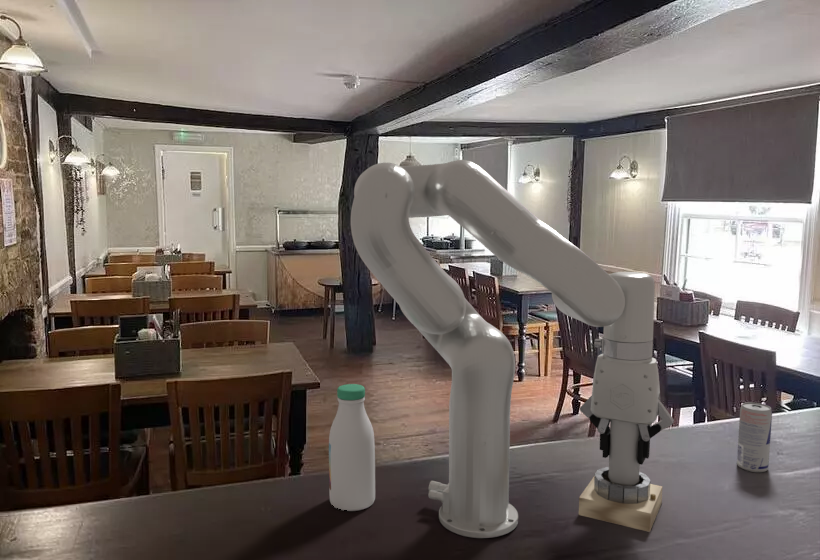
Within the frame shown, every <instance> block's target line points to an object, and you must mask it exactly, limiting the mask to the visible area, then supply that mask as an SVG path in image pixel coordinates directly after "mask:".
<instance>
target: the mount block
mask: <svg viewBox="0 0 820 560" xmlns="http://www.w3.org/2000/svg"><path fill="white" fill-rule="evenodd" d="M594 477H595V475H593V477H592V479H590V482H589V483H588V484H587V486H586V487H585V488H584V490H583V491H582V493H581V494H580V495H579V498H578V516H582V517H585V518H590V519H594V520H599V521H603V522H607V523H609V524H611V523H612V524H615V525H620V526H623V527H627V528H631V529H635V530H640V531H643V532H648V533H650V532H651V531H652V527H653V525H654V523H655V521H656V518H657V516H658V513H659V512H660V511H659V510H660V508H661V507H662V504H663V485H662V486H661V485H658V484H652V483H650V496H649V498H648V500H647V501H644V502H641V503H637V504H624V503H623V504H622V503H618V502H613V501H609V500H607V499H605V498H603V497H601V496H599V495H598V494H597V493H596V491H595V490H594ZM612 484H614V483H612Z"/></svg>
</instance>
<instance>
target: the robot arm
mask: <svg viewBox="0 0 820 560" xmlns="http://www.w3.org/2000/svg"><path fill="white" fill-rule="evenodd" d="M354 184H355V185H354V190H353V195H354V198H353V200H352V204H351V205H352V206H351V211H350V230H351V231H350V233H351V236H352V237H351V238H352V240H353V244H354V247H355V249H356V252H357V254H358V256H359V257H360V259H361V260H362V262H363V263H364V265H365V266H366V267H367V269H368V270H369V271H370V273H371V274H372V275H373V276H374V277H375V278H376V280H377V281H378V282H379V283H380V284H381V286H382V287H383V288H384V290H385V291H386V292H387V293H388V294H389V295H390V297H391V298H392V299H394V301H395V302H396V303H397V304H398V306H399V309H400V311H401V312H402V314H403V315H404V316H405V318H406V319H407V320H408V321H409V322H410V323H411V325H413V327H415V328H416V329H417V331H419V332H418V333H420V334H421V335H422V336H423V337H424V338H425V340H427V342H428V343H429V344H430V345H431V346H432V347H433V349H434V350H435V351H437V353H438V354H439V355H440V356H441V357H442V358H443V360H444V361H445V362H446V363H447V364H448V365H449V367H450V368H451V386H450V392H449V393H450V394H449V403H448V405H449V407H448V408H449V409H448V429H449V430H448V483H447V484H445V483H442V482H440V481H435V480H430V481H429V485H428V498H429V499H430V500H435V501H436V500H437V501H440V502H441V503H442V505H441V506H440V507H439V510H438V519H439V522H440V524H441V525H442V526H443V527H444V528H445V529H447V530H448V531H450V532H452V533H454V534H457V535H459V536H463V537H468V538H474V539H491V538H498V537H502V536H504V535H506V534H509V533H511V532H512V531H514V529H515V528H517V526H518V524H519V512H518V510H517V509H516V508H515V506H513V505H512V504H511V503H510V502H509V501H510V500H509V498H510V496H509V495H510V492H509V491H510V453H511V452H510V450H511V449H510V448H511V447H510V444H511V442H510V441H511V435H510V434H511V405H512V404H511V403H512V400H511V399H512V392H513V385H514V379H515V373H516V356H515V351H514V348H513V346H512V344H511V342H510V340H509V338H508V337H507V336H506V335H505V334H504V333H503V332H502V331H501V330H500V329H498V328H496V326H494V325H492V324H491V323H489V322H487V321H486V320H485V319H484V318H483V316H481V315H480V314H479V312H478V311H477V310H476V309H475V308H474V306H473V305H472V304H471V303H470V302H469V301H468V299H466V297H465V294H464V292H463V289H462V288H461V286H460V285H459V283H457V281H456V280H455V279H454V278H452V276H450V274H448V273H447V271H445V270H444V269H443V267H442V266H441V265H439V263H438V262H437V261H436V260H435V259H434V258H433V256H432V255H431V254H430V253H429V252H428V250H427V249H426V248H425V246H424V245H423V244H422V243H421V242H420V240H419V239H418V238H417V236H416V235H415V233H414V232H413V230H412V227H411V225H410V218H411V219H412V218H413V219H414V218H429V217H443V216H449V217H450V218H451V219H453V221H455V222H456V223H457V224H458V225H459V226H460V227H462V228H463V230H465V231H467V232H468V233H469V234H470V235H472V237H473V238H475V239H476V240H477V241H478V242H479V243H480V244H482V245H483V246H484V247H485V248H486V249H487V250H488V251H489V252H490V253H492V254H493V255H494V256H495V257H497V258H498V259H499V260H500V261H501V262H503V263H505V264H506V265H507V266H509V267H510V268H512V269H513V270H516V271H518V272H519V273H521V274H523V275H526V276H527V277H529V278H531V279H532V280H534V281H535V282H537V283H538V284H540V285H541V286H542V287H544V288H546V289H547V290H548V291H549V292H551V298H552V299H551V300H552V301H553V303H554V305H555V306H556V308H557V309H558V310H559V311H560V312H561V313H563V315H566V316H568V317H569V318H572V319H574V320H577V321H580V322H581V323H584V324H586V325H587V326H591V327H593V328H594V327H595V328H603V335H602V338H595V339H594V341H593V342H594V343H593V347H594V348H598V349H600V350H601V353H600V354H599V355H597V358H596V361H595V367H594V373H593V379H592V380H593V381H592V390H591V395H590V397H588V399H587V400H586V401H585V402H584V403H583V404H582V405H581V406H580V407H579V411H580V412H581V413H582V414H583V415H584V416H585V417H587V418H588V419H589V421H590V422H591V423H592V424H593V426H594V427H595V428H596V430H597V432H598V433H599V450H600V451H602V458H604V459H606V458H609V448H610V420H616V421H623V422H629V423H635V424H638V425H639V429H640V432H641V436H640V439H639V441H638V461H637V463H639V464H640V465H641V466H642V465H643V464H644V462H645V460H646V459H649V458H650V452H651V451H650V450H651V449H650V446H651V445H650V444H651V439H652V438H653V437H655V436H656V435H658V434H659V433H660V432H661V431H663V430H665V429H667V428H669V427H671V426H672V425H673V423H674V420H675V419H674V417H673V416H672V415H671V414H670V412H669V411H668V410H667V408H666V407H665V406H664V404H663V403H662V402H661V390H660V388H661V387H660V376H659V374H660V373H659V369H658V368H659V367H658V361H657V358H654V357H653V348H654V347H653V346H654V345H653V343H654V321H655V318H654V317H655V316H654V315H655V296H656V294H655V288H656V287H655V286H656V285H655V283H656V282H655V280H654V279H655V278H654V277H653V275H652V276H651V274H648V273H645V272H639V271H638V272H637V271H617V272H612V273H608V272H607V271H606V270H605V269H604V268H603V267H601V266H600V264H598V263H597V262H596V261H595V260H593V258H591V257H590V256H589V255H587V254H586V253H585V252H584V251H583V250H582V249H580V248H579V247H577V246H576V245H574V244H573V243H572V242H570V241H569V240H568V239H566V238H565V237H563V235H561V234H560V233H559V232H557V230H555V229H554V228H553V227H551V226H549V225H548V224H547V223H545V222H544V221H543V220H541V219H539V217H537V216H536V215H535V214H534V213H533V212H531V211H530V209H528V208H527V207H526V206H525V205H524V204H523V203H522V202H520V200H518V199H517V198H516V197H515V196H513V194H511V192H509V191H508V190H507V189H506V188H505V187H504V186H502V185H501V184H500V183H499V182H498V181H497V180H496V179H494V178H493V176H491V175H490V174H489V173H488V172H487V171H486V170H484V169H483V168H482V167H481V166H480V165H478V164H476V163H475V162H473V161H471V160H466V159H456V160H452V161H449V162H443V163H435V164H419V165H417V164H416V165H398V164H397V163H396V164H395V163H392V162H380V163H379V162H378V163H376V164H374V165H371V166H369V167H368V168H367V169H365V170H364V171H362V173H361V174H360V175H359V176H358V177H357V179H356V182H355V183H354ZM658 416H659V418H660V420H659V421H658V422H656V420H657V417H658Z"/></svg>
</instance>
